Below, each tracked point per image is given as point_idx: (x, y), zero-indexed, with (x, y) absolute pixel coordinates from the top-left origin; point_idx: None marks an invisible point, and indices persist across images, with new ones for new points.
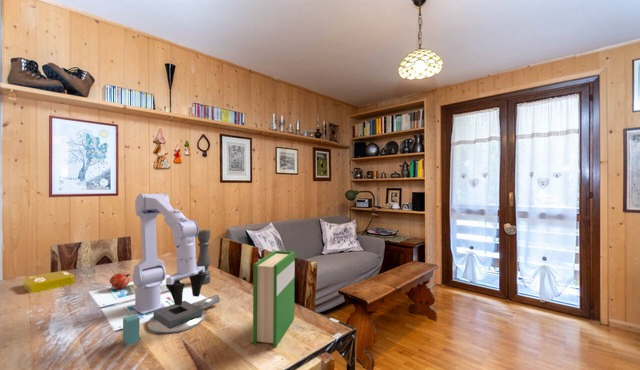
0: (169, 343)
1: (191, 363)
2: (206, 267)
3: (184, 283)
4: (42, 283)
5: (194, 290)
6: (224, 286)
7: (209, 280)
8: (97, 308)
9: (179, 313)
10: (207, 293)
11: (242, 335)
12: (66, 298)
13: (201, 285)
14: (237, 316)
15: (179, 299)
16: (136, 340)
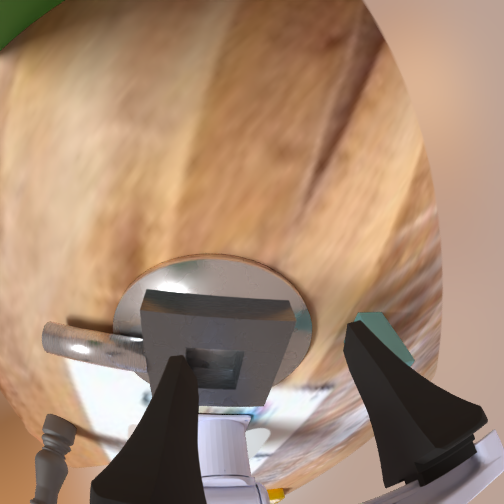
0: (341, 225)
1: (388, 54)
2: (47, 452)
3: (447, 445)
4: (275, 497)
5: (190, 408)
6: (19, 378)
7: (47, 418)
8: (275, 454)
9: (228, 348)
10: (64, 389)
11: (148, 10)
12: (273, 477)
13: (143, 420)
14: (42, 174)
15: (385, 349)
16: (367, 316)
